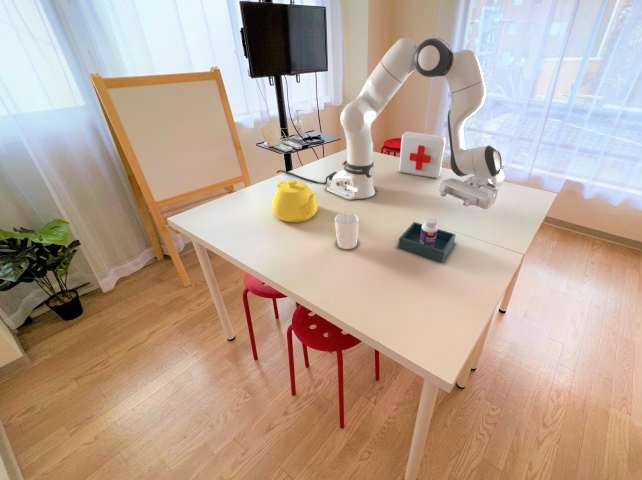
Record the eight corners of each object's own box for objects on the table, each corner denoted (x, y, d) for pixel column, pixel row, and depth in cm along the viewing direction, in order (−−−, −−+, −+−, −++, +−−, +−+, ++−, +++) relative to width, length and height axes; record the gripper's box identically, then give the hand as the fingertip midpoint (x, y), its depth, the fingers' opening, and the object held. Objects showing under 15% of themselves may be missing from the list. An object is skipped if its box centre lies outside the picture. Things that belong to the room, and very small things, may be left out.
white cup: (355, 251, 102) (355, 226, 96) (332, 248, 103) (331, 223, 98) (360, 239, 109) (361, 214, 103) (339, 236, 110) (338, 211, 104)
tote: (398, 247, 105) (399, 237, 102) (412, 231, 114) (413, 221, 111) (442, 262, 99) (444, 252, 96) (453, 243, 108) (455, 234, 105)
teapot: (335, 218, 120) (333, 185, 112) (297, 234, 110) (293, 200, 102) (298, 197, 134) (294, 167, 126) (261, 210, 124) (255, 178, 116)
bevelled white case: (397, 173, 159) (400, 134, 148) (401, 168, 166) (405, 130, 154) (437, 180, 153) (443, 140, 142) (440, 175, 159) (447, 135, 148)
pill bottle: (425, 250, 103) (429, 225, 97) (416, 242, 107) (419, 218, 101) (437, 246, 105) (442, 222, 99) (428, 238, 109) (432, 214, 103)
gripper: (452, 171, 117) (430, 180, 109) (502, 189, 105) (481, 201, 97) (449, 186, 121) (427, 196, 113) (497, 205, 109) (477, 218, 101)
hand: (453, 198), depth 105 cm, fingers open, 8 cm apart
